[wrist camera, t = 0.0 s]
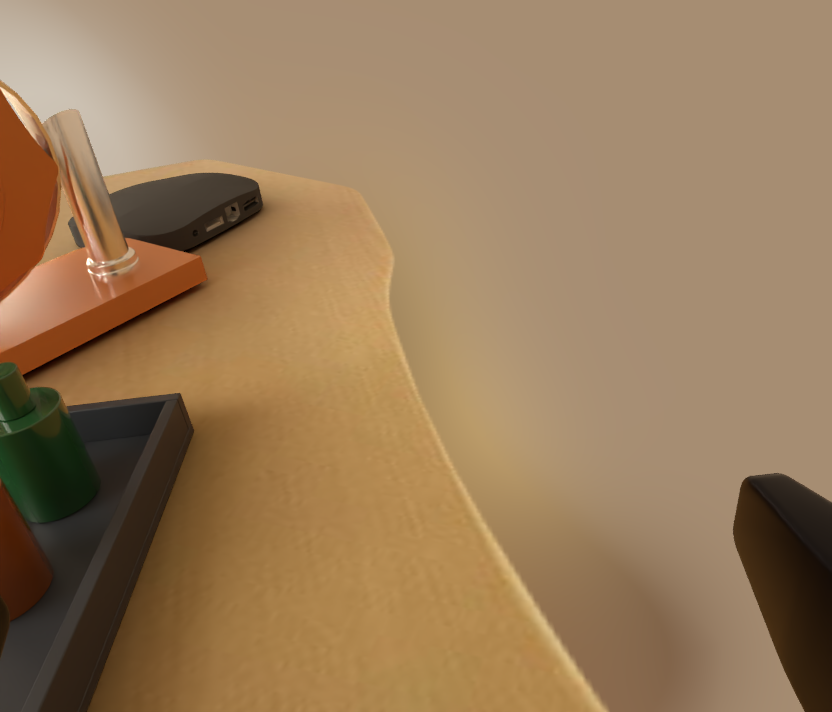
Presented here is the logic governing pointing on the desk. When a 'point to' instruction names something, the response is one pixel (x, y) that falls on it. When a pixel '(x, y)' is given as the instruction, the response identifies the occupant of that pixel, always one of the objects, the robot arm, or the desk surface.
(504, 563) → the desk surface
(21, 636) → the tray
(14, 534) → the amber bottle
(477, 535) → the desk surface
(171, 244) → the media streaming box
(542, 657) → the desk surface
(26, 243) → the desk clock
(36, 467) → the green bottle
